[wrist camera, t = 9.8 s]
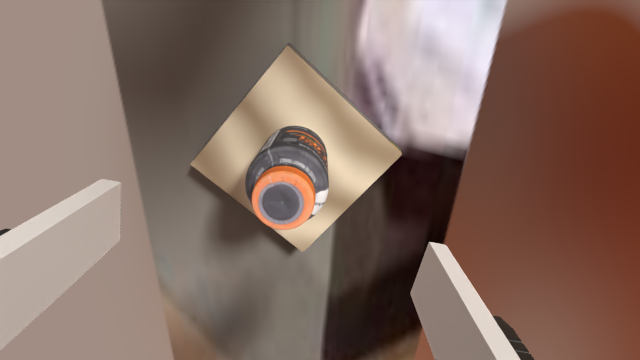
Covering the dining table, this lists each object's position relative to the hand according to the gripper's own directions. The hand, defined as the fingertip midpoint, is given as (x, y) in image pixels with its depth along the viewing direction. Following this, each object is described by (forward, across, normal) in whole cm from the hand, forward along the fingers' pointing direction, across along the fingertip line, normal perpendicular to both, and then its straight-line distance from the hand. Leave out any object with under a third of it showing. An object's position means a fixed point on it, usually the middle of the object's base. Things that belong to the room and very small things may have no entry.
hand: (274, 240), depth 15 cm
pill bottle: (+18, 0, -2) cm, 18 cm away
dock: (+21, 0, -2) cm, 21 cm away
